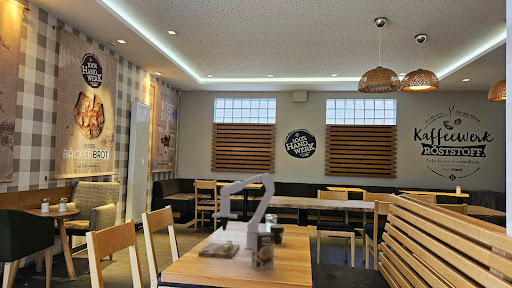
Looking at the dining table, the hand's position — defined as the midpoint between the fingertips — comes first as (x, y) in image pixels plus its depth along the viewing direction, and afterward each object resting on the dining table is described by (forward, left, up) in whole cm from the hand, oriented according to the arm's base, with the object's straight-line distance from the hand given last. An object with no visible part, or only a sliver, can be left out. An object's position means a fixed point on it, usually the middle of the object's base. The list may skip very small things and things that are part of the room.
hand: (224, 230), depth 203 cm
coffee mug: (-31, -18, -10) cm, 37 cm away
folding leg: (-5, +11, -7) cm, 14 cm away
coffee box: (-27, +32, -10) cm, 43 cm away
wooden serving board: (-1, +12, -9) cm, 15 cm away
